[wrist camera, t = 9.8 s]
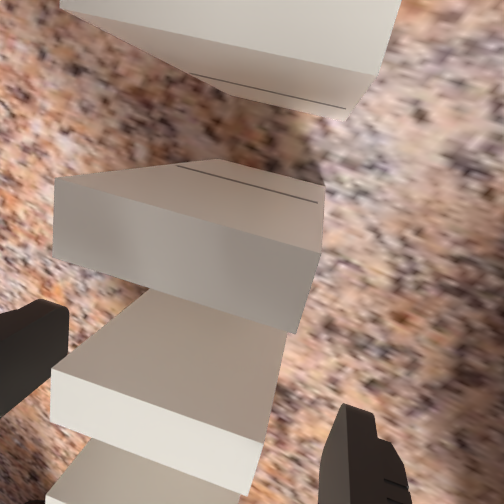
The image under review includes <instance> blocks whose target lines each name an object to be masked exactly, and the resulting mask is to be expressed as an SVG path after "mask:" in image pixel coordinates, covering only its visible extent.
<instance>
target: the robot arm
mask: <svg viewBox="0 0 504 504" xmlns="http://www.w3.org/2000/svg"><path fill="white" fill-rule="evenodd" d="M68 335H69V310H68V309H67V307H65V306H62V305H59V304H56V303H53V302H50V301H47V300H44V299H38V300H35V301H33V302H31V303H29V304H28V305H26V306H24V307H22V308H20V309H18V310H12V311H9V312H5V313H1V314H0V418H1V417H3V416H4V415H5V414H6V413H8V412H9V411H10V410H11V409H12V408H14V407H15V406H16V405H17V404H18V403H20V402H21V401H22V400H23V399H24V398H26V397H27V396H28V395H29V394H30V393H32V392H33V391H34V390H35V389H37V388H38V387H39V386H40V385H41V384H43V383H44V382H45V381H46V380H47V379H49V378H50V377H51V368H52V367H54V366H55V365H56V364H57V363H58V362H60V361H61V360H62V359H63V358H65V357H66V356H67V353H68ZM408 488H409V486H408V482H407V477H406V472H405V468H404V464H403V462H402V461H401V459H400V457H399V456H398V454H397V452H396V450H395V449H394V447H393V445H392V444H391V443H390V442H388V441H385V440H382V439H379V438H378V437H377V430H376V424H375V418H374V415H373V413H371V412H368V411H365V410H362V409H359V408H356V407H353V406H350V405H347V404H344V403H343V404H342V405H341V407H340V409H339V411H338V414H337V416H336V419H335V421H334V424H333V426H332V429H331V431H330V434H329V436H328V439H327V441H326V444H325V446H324V449H323V453H322V458H321V463H320V471H319V493H318V504H412V500H411V495H410V492H408Z"/></svg>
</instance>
